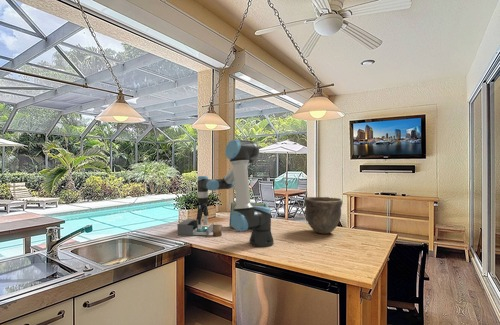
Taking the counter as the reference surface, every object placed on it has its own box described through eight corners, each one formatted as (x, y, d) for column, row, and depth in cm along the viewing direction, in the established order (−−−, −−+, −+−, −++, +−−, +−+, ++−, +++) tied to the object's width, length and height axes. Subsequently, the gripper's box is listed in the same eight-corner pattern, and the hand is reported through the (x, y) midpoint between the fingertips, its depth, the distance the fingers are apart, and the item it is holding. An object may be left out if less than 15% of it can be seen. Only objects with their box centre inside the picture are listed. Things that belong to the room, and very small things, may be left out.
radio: (229, 228, 211) (229, 196, 211) (232, 226, 218) (232, 194, 218) (266, 231, 202) (266, 197, 202) (268, 228, 210) (268, 196, 210)
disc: (206, 232, 193) (206, 228, 193) (195, 231, 194) (195, 228, 194) (209, 229, 201) (209, 226, 201) (198, 229, 202) (198, 225, 202)
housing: (195, 236, 188) (195, 224, 188) (177, 235, 190) (177, 224, 190) (203, 229, 207) (203, 219, 207) (187, 228, 209) (187, 218, 209)
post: (220, 236, 186) (220, 226, 186) (212, 236, 187) (212, 226, 187) (222, 234, 192) (222, 224, 192) (214, 234, 193) (214, 224, 193)
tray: (207, 235, 188) (207, 228, 188) (190, 234, 190) (190, 228, 190) (213, 229, 205) (213, 223, 205) (198, 228, 207) (198, 222, 207)
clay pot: (309, 237, 184) (309, 200, 184) (301, 228, 210) (301, 196, 210) (348, 237, 185) (348, 200, 185) (335, 228, 210) (335, 196, 210)
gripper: (202, 199, 185) (202, 231, 184) (212, 195, 209) (212, 223, 209) (191, 199, 185) (191, 230, 185) (202, 195, 210) (202, 222, 210)
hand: (202, 226), depth 197 cm, fingers open, 13 cm apart
